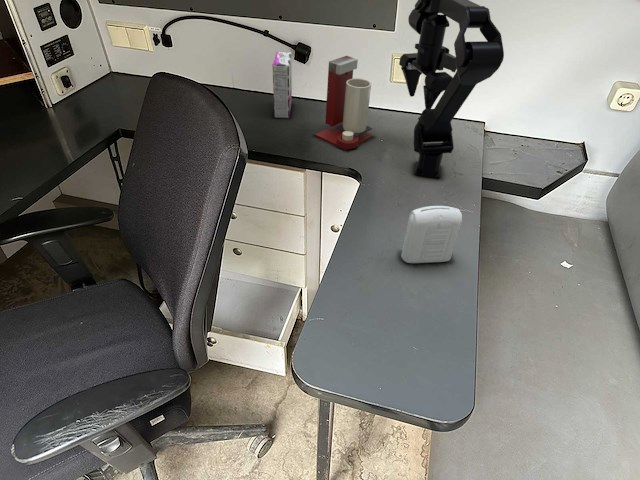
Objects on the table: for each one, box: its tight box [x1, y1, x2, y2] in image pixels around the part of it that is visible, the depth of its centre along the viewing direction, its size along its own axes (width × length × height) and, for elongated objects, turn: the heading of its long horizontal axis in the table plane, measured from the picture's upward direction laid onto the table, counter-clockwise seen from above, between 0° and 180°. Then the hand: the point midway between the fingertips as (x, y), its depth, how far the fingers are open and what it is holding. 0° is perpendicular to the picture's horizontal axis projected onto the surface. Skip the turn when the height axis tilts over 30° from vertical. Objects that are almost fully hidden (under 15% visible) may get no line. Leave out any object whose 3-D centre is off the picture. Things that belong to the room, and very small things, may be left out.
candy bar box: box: [272, 51, 293, 119], centre depth 143 cm, size 11×5×16 cm, turn 179°
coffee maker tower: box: [325, 55, 373, 137], centre depth 130 cm, size 12×7×18 cm, turn 48°
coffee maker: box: [314, 122, 374, 152], centre depth 135 cm, size 13×13×2 cm
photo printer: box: [400, 205, 463, 264], centre depth 93 cm, size 10×4×12 cm, turn 98°
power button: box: [342, 131, 353, 141], centre depth 130 cm, size 3×3×2 cm
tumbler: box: [343, 77, 372, 133], centre depth 131 cm, size 7×7×13 cm
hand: (419, 103), depth 125 cm, fingers open, 9 cm apart
